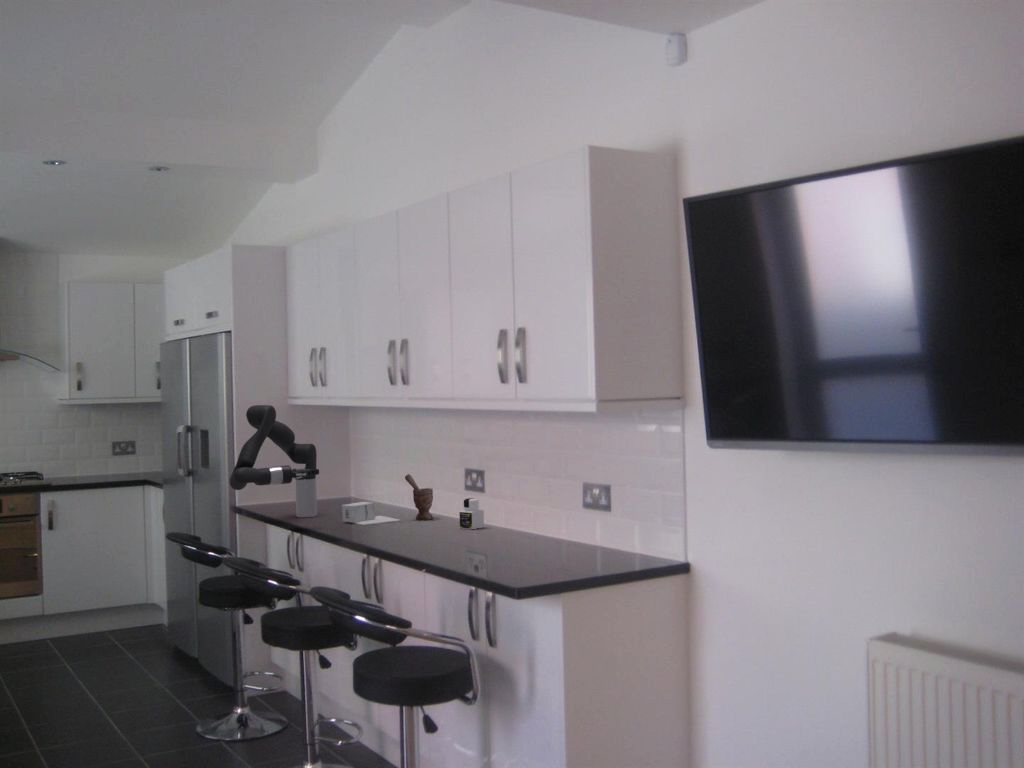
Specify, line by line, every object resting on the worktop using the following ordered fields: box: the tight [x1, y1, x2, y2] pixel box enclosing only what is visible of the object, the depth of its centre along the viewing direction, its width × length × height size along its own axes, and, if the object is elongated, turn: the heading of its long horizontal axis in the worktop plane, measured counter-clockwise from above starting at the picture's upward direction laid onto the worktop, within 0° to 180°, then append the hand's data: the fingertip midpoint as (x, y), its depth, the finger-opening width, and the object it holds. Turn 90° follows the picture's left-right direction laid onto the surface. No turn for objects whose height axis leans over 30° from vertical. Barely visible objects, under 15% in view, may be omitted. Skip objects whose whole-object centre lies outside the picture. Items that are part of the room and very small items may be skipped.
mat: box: [348, 515, 402, 527], centre depth 456 cm, size 20×18×1 cm
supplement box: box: [341, 501, 376, 524], centre depth 456 cm, size 7×7×13 cm
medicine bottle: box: [458, 497, 485, 530], centre depth 426 cm, size 7×7×12 cm
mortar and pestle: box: [404, 473, 434, 521], centre depth 457 cm, size 12×9×20 cm
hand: (318, 471), depth 443 cm, fingers closed
